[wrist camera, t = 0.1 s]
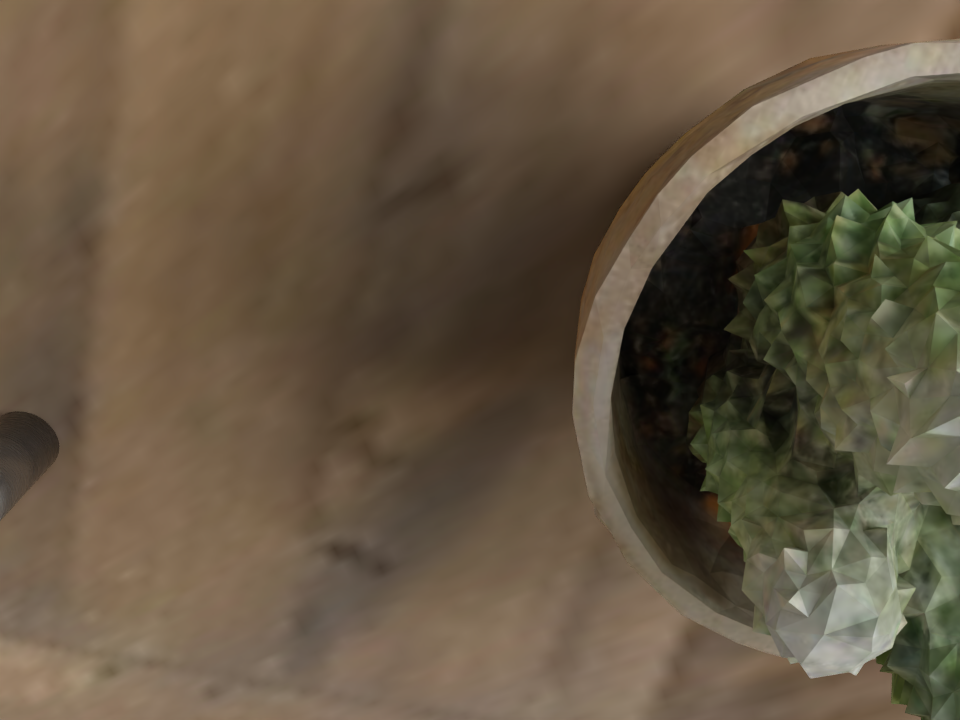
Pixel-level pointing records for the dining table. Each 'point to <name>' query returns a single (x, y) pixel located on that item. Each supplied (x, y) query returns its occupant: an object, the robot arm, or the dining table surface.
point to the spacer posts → (23, 455)
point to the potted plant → (793, 370)
